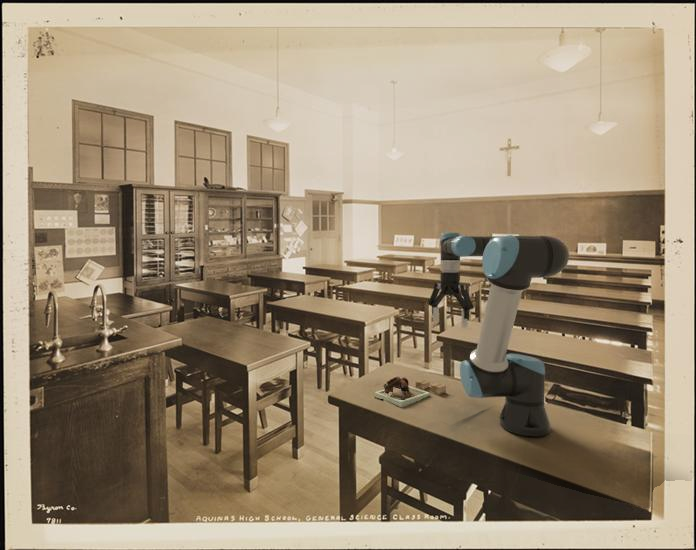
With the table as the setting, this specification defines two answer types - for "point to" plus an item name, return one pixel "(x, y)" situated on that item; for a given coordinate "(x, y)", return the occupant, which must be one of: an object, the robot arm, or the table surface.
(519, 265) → the robot arm
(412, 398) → the tray
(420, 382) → the oak cube
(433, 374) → the table surface
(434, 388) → the oak cube
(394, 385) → the broken pot
